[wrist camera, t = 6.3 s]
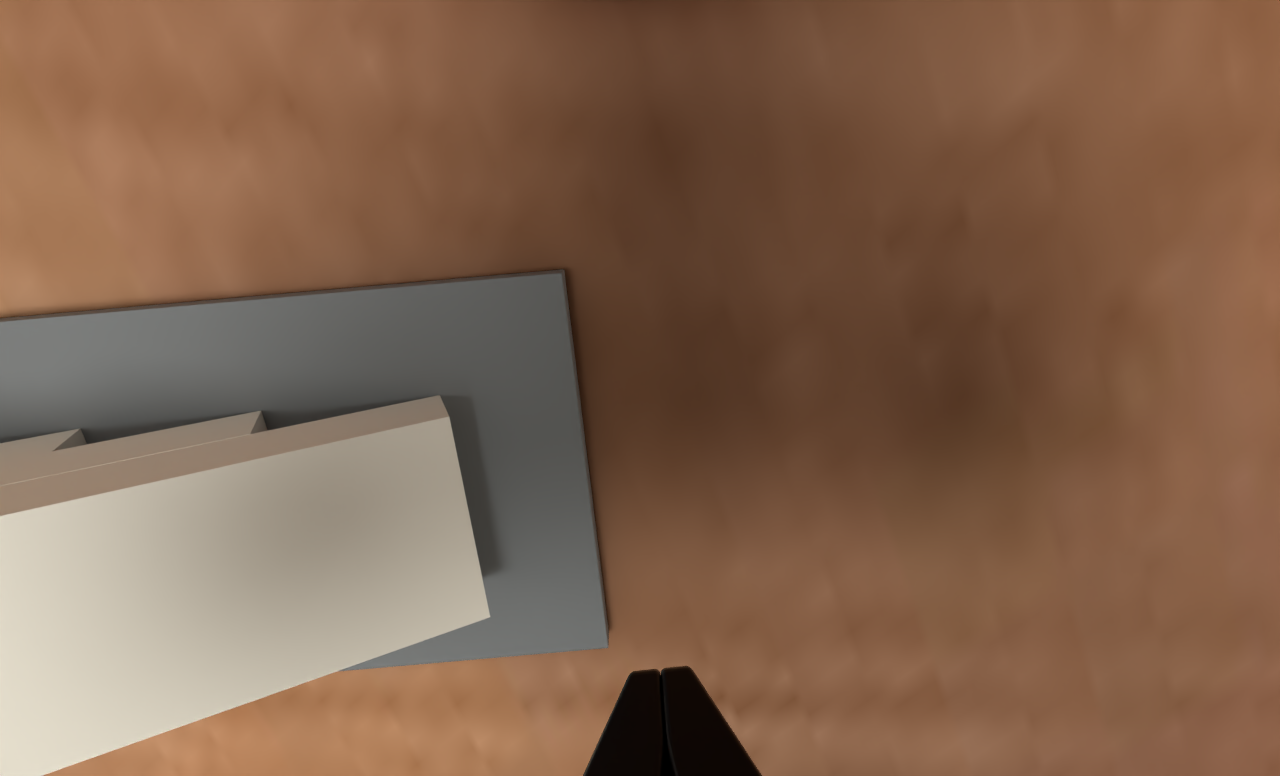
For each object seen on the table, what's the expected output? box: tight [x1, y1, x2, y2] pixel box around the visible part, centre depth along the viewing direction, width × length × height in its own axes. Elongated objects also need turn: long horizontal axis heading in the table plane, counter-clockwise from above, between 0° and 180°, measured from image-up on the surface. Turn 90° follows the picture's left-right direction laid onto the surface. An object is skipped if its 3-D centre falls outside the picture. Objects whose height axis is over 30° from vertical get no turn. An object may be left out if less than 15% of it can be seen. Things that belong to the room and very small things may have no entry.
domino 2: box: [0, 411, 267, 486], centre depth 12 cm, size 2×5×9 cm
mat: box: [0, 269, 609, 671], centre depth 15 cm, size 26×10×1 cm, turn 95°
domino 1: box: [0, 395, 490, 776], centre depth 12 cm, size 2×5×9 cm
